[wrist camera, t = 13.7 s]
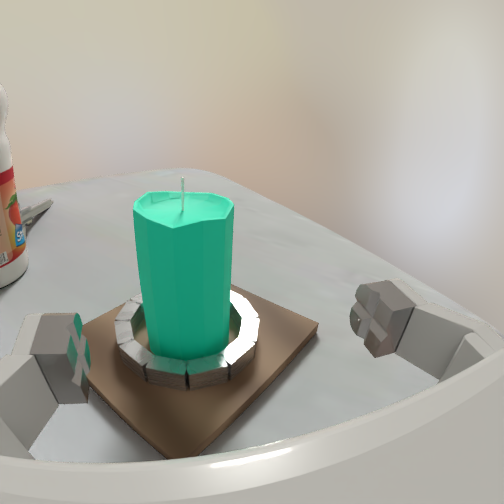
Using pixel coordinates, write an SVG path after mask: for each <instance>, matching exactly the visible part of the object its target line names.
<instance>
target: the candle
mask: <svg viewBox="0 0 504 504" xmlns="http://www.w3.org/2000/svg"><path fill="white" fill-rule="evenodd" d="M181 187H182V192H173V191H160V192H147V193H145V194H144V195H143V196H141V197H140V198H139V199H137V200H136V201H135V202H134V206H133V217H134V230H135V241H136V251H137V260H138V269H139V278H140V286H141V293H142V300H143V307H144V314H145V320H146V327H147V333H148V339H149V344H150V350H151V351H152V352H153V353H154V354H155V355H156V356H161V357H167V358H172V359H178V360H183V361H188V360H193V359H198V358H202V357H207V356H211V355H215V354H219V353H220V352H221V351H223V350H224V349H225V348H226V347H227V345H228V342H229V319H230V290H231V265H232V241H233V219H234V204H233V203H232V202H231V201H230V199H229V198H226V197H223V196H220V195H217V194H214V193H195V192H184V177H181Z"/></svg>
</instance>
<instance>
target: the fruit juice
mask: <svg viewBox="0 0 504 504" xmlns="http://www.w3.org/2000/svg"><path fill="white" fill-rule="evenodd" d="M7 112H8V97H7V93H6V91H5V89H4V88H3V86H2V85H1V84H0V288H2V287H4V286H6V285H8V284H10V283H12V282H14V281H15V280H16V279H18V278H19V277H20V276H21V275H22V274H23V273H24V272H25V270H26V269H27V267H28V261H29V259H28V252H27V247H26V243H25V238H24V234H23V229H22V224H21V218H20V213H19V207H18V201H17V195H16V188H15V180H14V173H13V161H12V153H11V147H10V142H9V139H8V137H7V135H6V132H5V123H6V118H7Z"/></svg>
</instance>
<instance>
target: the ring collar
mask: <svg viewBox="0 0 504 504" xmlns="http://www.w3.org/2000/svg"><path fill="white" fill-rule="evenodd" d="M258 317H259V316H258V315H257V313H256V312H255V311H254V309H253V308H252V307H251V305H250V304H249V303H248V301H247V300H246V298H243V296H241V295H239V294H237V293H235V292H233V291H231V290H230V318H232V320H233V321H234V323H235V325H236V326H237V328H238V329H239V331H240V334H239V338H237V339H236V340H235V341H234V342H232V343H231V344H230V345H229V346H227V347H226V348H225V349H224V350H223V351H221V352H220V353H219V354H215V355H211V356H207V357H202V358H198V359H193V360H188V361H183V360H178V359H172V358H167V357H161V356H156V355H153V354H152V353H151V352H149V351H148V350H147V349H146V348H144V347H143V346H142V345H140V344H139V343H138V342H137V341H135V340H134V337H133V336H134V335H135V333H136V331H137V329H138V328H139V326H140V324H141V323H142V321H143V320H144V319H145V314H144V307H143V300H142V293H139V294H138V295H136V296H134V297H132V298H130V300H128V301H127V302H126V304H125V305H124V306H123V308H122V309H121V311H120V312H119V314H118V315H117V317H116V318H115V321H114V323H115V331H116V338H117V344H118V348H119V352H120V356H121V359H122V360H123V363H124V364H125V365H126V366H127V367H128V368H130V369H131V370H132V371H133V372H134V373H135V374H137V375H138V376H139V377H140V378H141V379H142V380H144V381H145V382H147V381H149V384H152V385H157V386H161V387H166V388H171V389H176V390H182V391H186V390H187V387H188V386H189V389H190V391H194V390H198V389H202V388H206V387H210V386H214V385H218V384H222V383H226V382H227V380H228V379H229V380H232V379H233V378H234V377H235V376H236V375H237V374H238V373H240V372H241V371H242V370H243V369H244V368H245V367H246V366H247V365H248V364H249V363H250V362H251V361H253V357H255V351H256V343H257V336H258V326H259V318H258Z"/></svg>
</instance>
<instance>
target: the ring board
mask: <svg viewBox="0 0 504 504" xmlns="http://www.w3.org/2000/svg"><path fill="white" fill-rule="evenodd" d="M231 291H233V292H235V293H237V294H239V295H241V296H243V298H246V300H247V301H248V303H249V304H250V305H251V307H252V308H253V309H254V311H255V312H256V313H257V315H258V316H259V317H258V318H259V326H258V336H257V343H256V351H255V357H253V361H251V362H250V363H249V364H248V365H247V366H246V367H245V368H244V369H243V370H242V371H241V372H240V373H238V374H237V375H236V376H235V377H234V378H233V379H232V380H229V379H228V380H227V382H226V383H222V384H218V385H214V386H210V387H206V388H202V389H198V390H194V391H190V389H189V386H188V387H187V390H186V391H182V390H176V389H171V388H166V387H161V386H157V385H152V384H149V381H147V382H145V381H144V380H142V379H141V378H140V377H139V376H138V375H137V374H135V373H134V372H133V371H132V370H131V369H130V368H128V367H127V366H126V365H125V364H124V363H123V360H122V359H121V356H120V352H119V348H118V344H117V338H116V331H115V323H114V321H115V318H116V317H117V315H118V314H119V312H120V311H121V309H122V308H123V306H124V305H125V304H126V303H124V304H122V305H120V306H118V307H116V308H114V309H113V310H111V311H109V312H107V313H105V314H103V315H101V316H99V317H97V318H96V319H94V320H92V321H90V322H88V323H86V324H84V325H83V326H82V332H81V334H82V335H83V336H85V337H86V338H87V342H88V345H89V350H90V360H91V366H90V372H89V373H88V374H87V375H86V378H87V380H88V383H89V385H90V386H91V387H92V388H93V389H94V390H95V391H96V392H97V394H98V395H99V396H100V397H101V398H102V399H103V400H104V401H105V402H106V403H107V404H108V405H109V406H110V407H111V408H112V409H113V410H114V411H115V412H116V413H117V414H118V415H119V416H120V417H121V418H122V419H123V420H124V421H125V422H126V423H127V424H128V425H129V426H130V427H131V428H132V429H134V430H135V431H136V432H137V433H138V434H139V435H140V436H141V437H142V438H143V439H144V440H146V441H147V442H148V443H149V444H150V445H151V446H152V447H154V448H155V449H156V450H157V451H158V452H159V453H161V454H162V455H163V456H164V457H165V458H167V459H168V460H170V459H180V458H188V457H196V456H198V455H199V454H200V453H201V452H202V451H203V450H204V449H205V448H206V447H207V446H208V445H210V444H211V443H212V442H213V441H214V440H215V439H216V438H217V437H218V436H219V435H220V434H221V433H222V432H223V431H224V430H225V429H226V428H227V427H228V426H229V425H230V424H231V423H232V422H234V421H235V420H236V419H237V418H238V417H239V416H240V415H241V414H242V413H243V412H244V411H245V410H246V409H247V408H248V407H249V406H250V404H251V403H252V402H253V401H254V400H255V399H256V398H257V397H258V396H259V395H260V394H261V393H262V392H263V391H264V390H265V389H266V388H267V387H268V386H269V385H270V384H271V383H272V382H273V380H274V379H275V378H276V377H277V376H278V375H279V374H280V373H281V372H282V371H283V370H284V369H285V367H286V366H287V365H288V364H289V363H290V362H291V361H292V360H293V359H294V357H295V356H296V355H297V354H298V353H299V352H300V351H301V350H302V348H303V347H304V346H305V345H306V344H307V343H308V342H309V340H310V339H311V338H312V337H313V336H314V335H315V333H316V332H317V328H318V324H319V323H317V322H315V321H313V320H310V319H308V318H306V317H304V316H301V315H299V314H297V313H294V312H292V311H290V310H288V309H285V308H283V307H281V306H279V305H276V304H274V303H272V302H270V301H267V300H265V299H263V298H261V297H259V296H256V295H254V294H252V293H250V292H248V291H245V290H243V289H241V288H239V287H237V286H234V285H232V284H231ZM239 334H240V331H239V329H238V328H237V326H236V325H235V323H234V321H233V320H232V318H230V319H229V342H228V345H227V346H229V345H230V344H231V343H232V342H234V341H235V340H236V339H237V338H239ZM133 337H134V340H135V341H137V342H138V343H139V344H140V345H142V346H143V347H144V348H146V349H147V350H148V351H149V352H151V353H152V354H153V355H155V354H154V353H153V352H152V351H151V350H150V344H149V339H148V333H147V327H146V320H145V319H144V320H143V321H142V323H141V324H140V326H139V328H138V329H137V331H136V333H135V335H134V336H133Z"/></svg>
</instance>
